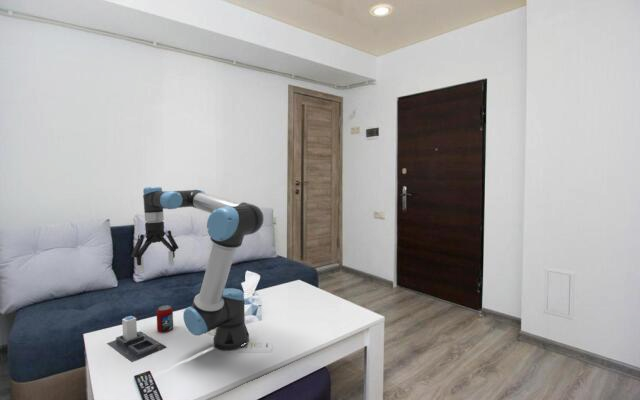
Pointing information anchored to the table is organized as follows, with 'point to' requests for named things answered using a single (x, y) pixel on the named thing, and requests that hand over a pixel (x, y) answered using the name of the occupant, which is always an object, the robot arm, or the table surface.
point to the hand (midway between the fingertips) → (157, 268)
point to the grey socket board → (136, 346)
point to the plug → (129, 328)
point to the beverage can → (164, 319)
